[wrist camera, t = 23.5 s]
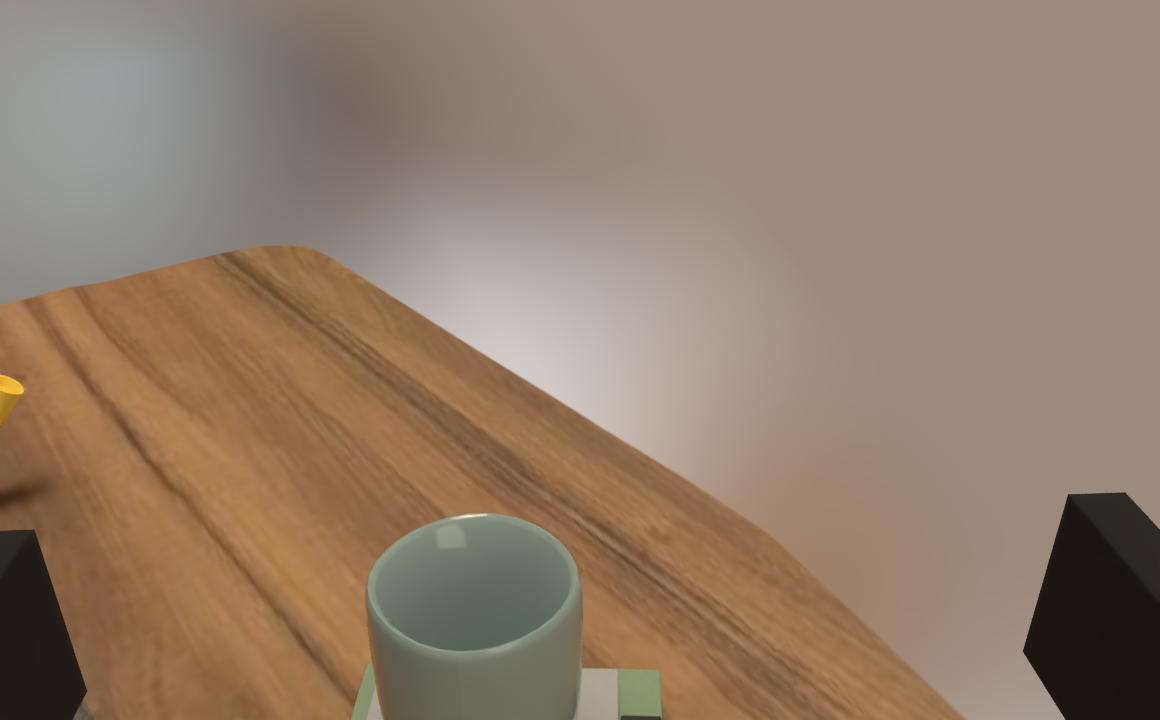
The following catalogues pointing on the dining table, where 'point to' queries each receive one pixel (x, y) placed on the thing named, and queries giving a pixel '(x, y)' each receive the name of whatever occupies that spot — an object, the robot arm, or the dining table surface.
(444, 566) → the cup
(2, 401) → the teapot
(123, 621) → the dining table surface
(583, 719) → the scale
